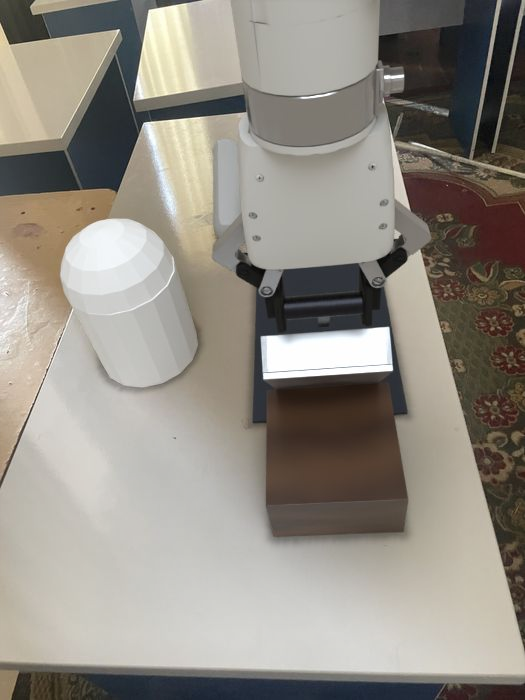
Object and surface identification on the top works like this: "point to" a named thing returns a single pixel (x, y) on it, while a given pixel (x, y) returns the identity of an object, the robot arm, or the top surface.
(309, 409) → the stand
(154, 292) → the container
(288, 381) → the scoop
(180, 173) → the top surface
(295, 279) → the mat
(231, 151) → the tube
